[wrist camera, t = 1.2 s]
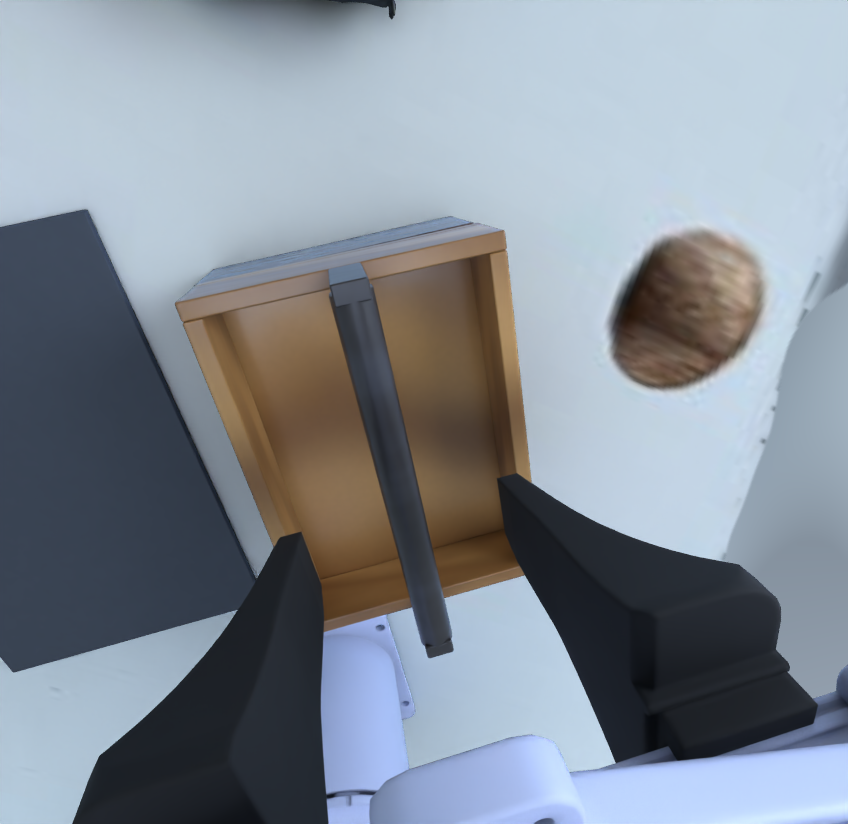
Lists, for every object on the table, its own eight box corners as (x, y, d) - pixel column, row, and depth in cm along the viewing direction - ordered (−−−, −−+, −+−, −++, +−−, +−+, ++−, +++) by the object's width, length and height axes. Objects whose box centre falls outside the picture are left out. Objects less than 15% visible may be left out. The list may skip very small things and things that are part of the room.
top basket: (516, 527, 24) (568, 618, 19) (311, 584, 23) (308, 694, 18) (477, 222, 18) (538, 238, 13) (196, 283, 17) (145, 326, 12)
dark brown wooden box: (493, 487, 27) (516, 527, 24) (311, 537, 26) (310, 585, 23) (451, 215, 21) (474, 221, 18) (212, 269, 20) (192, 286, 17)
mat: (264, 597, 28) (263, 602, 27) (17, 666, 26) (13, 673, 26) (87, 209, 19) (82, 210, 18) (-294, 289, 18) (-306, 291, 17)
